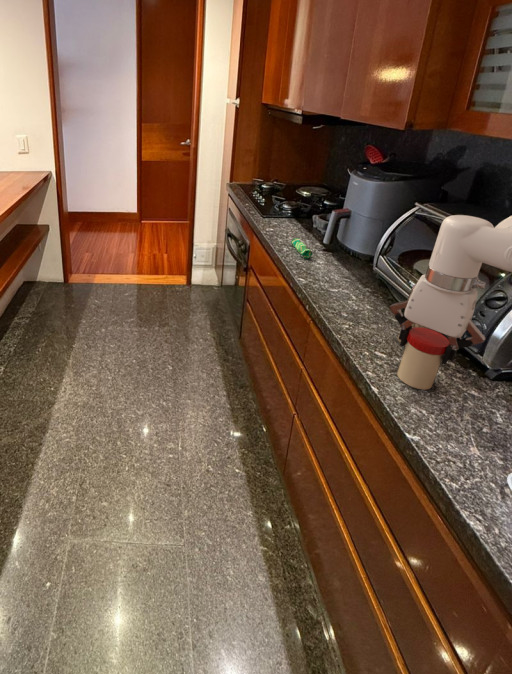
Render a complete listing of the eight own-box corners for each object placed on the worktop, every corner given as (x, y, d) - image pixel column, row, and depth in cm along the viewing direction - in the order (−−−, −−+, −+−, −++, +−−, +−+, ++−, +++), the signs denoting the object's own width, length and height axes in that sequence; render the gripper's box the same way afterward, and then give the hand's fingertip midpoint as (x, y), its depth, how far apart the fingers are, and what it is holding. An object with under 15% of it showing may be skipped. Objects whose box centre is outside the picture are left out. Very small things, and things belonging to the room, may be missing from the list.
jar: (428, 373, 87) (442, 334, 83) (435, 393, 81) (451, 352, 77) (394, 366, 89) (407, 327, 85) (399, 384, 84) (413, 344, 80)
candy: (314, 256, 143) (309, 247, 142) (305, 260, 144) (300, 252, 142) (301, 243, 154) (297, 235, 153) (293, 248, 155) (289, 240, 153)
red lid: (403, 331, 86) (405, 324, 85) (441, 338, 84) (443, 331, 83) (411, 350, 80) (413, 342, 79) (452, 358, 78) (455, 350, 77)
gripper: (512, 289, 72) (480, 365, 78) (405, 258, 84) (385, 327, 91) (504, 302, 67) (470, 382, 74) (392, 268, 80) (372, 339, 87)
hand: (424, 351), depth 82 cm, fingers closed on red lid, 6 cm apart
